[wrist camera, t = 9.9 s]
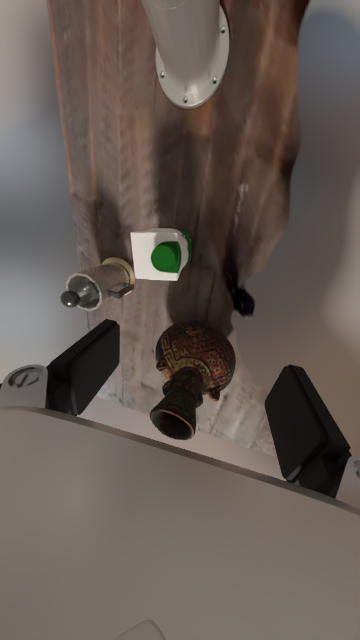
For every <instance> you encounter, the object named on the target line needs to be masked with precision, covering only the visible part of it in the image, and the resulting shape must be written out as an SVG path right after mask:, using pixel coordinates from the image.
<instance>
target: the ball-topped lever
mask: <svg viewBox="0 0 360 640" xmlns="http://www.w3.org/2000/svg"><path fill="white" fill-rule="evenodd" d="M96 289H97V287H96V285H95V286H93V287H90V288H88V289H86V290H84V291H81V292H79V293H77V292H75V291H72V290H68V291H65V292H64V293H62V295H61V302H62V304H63V305H65V306H66V307H76V306H77V305H78V304H79V303H80V297H81V296H83V295H85V294H87V293H90V292H92V291H94V290H96Z"/></svg>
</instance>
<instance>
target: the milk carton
mask: <svg viewBox="0 0 360 640" xmlns="http://www.w3.org/2000/svg"><path fill="white" fill-rule="evenodd" d="M131 242H132V252H133V261H134V271H135V278H139V279H149V280H173V281H177V280H178V278H179V275H180V272H181V270H182V268H183V267H185V266H186V265H187V264H189V263H190V260H191V233H190V232H187V231H184V230H181V229H173V228H150V229H148V230H144V231H138V232H131Z"/></svg>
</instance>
